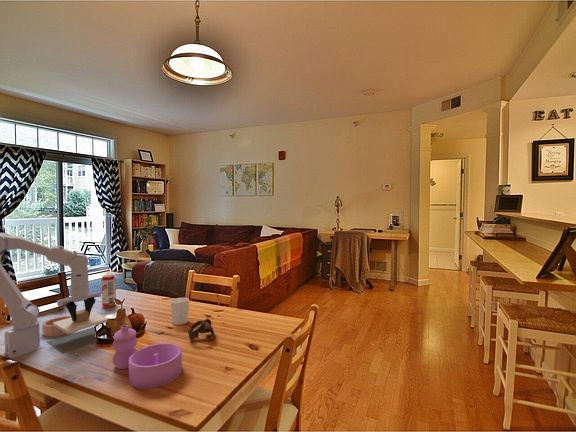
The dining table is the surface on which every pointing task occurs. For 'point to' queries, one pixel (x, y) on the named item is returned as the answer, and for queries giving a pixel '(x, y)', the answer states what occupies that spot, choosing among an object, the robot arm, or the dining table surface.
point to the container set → (146, 360)
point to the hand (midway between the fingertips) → (80, 319)
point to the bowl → (53, 327)
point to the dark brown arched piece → (201, 329)
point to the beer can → (108, 291)
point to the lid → (80, 321)
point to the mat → (74, 340)
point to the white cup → (179, 310)
